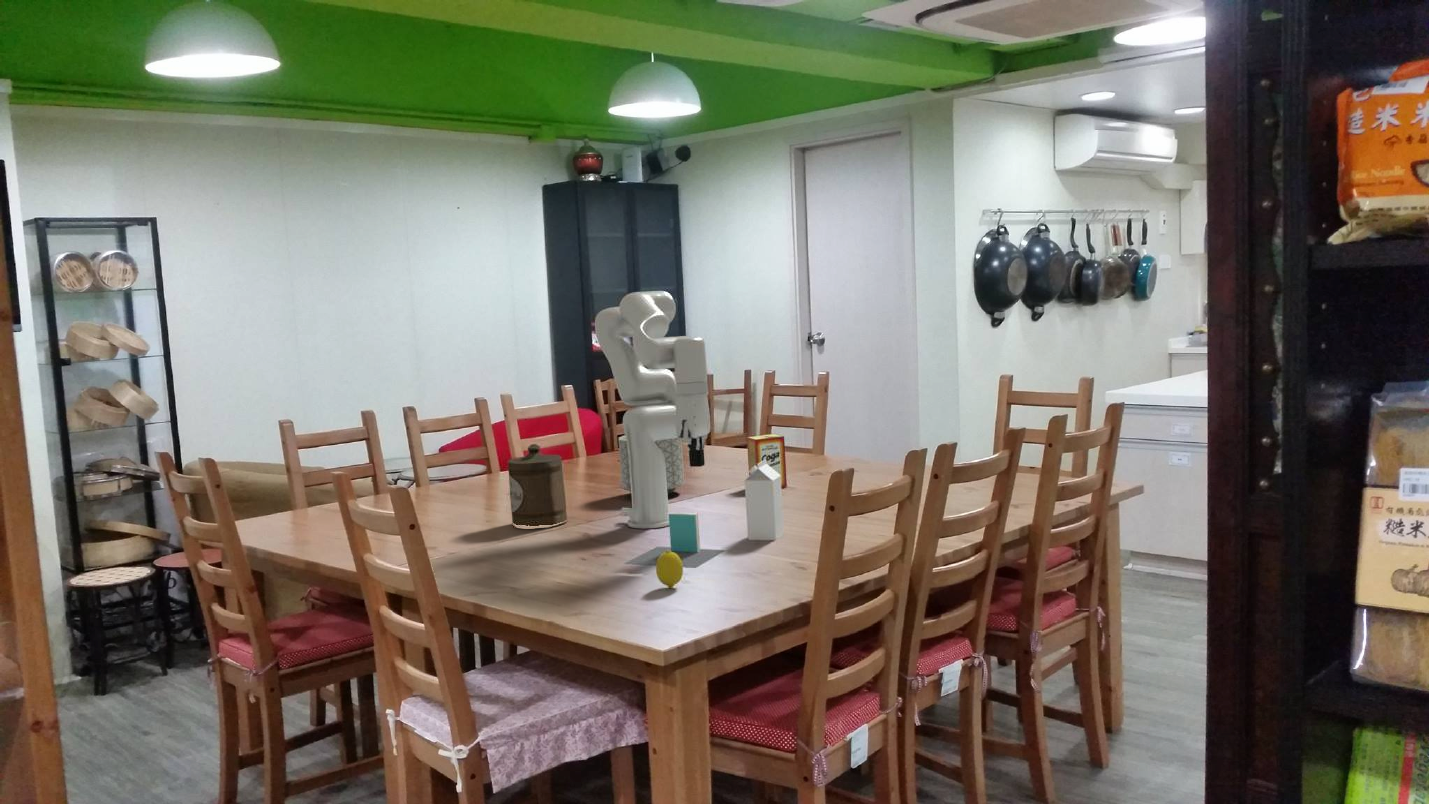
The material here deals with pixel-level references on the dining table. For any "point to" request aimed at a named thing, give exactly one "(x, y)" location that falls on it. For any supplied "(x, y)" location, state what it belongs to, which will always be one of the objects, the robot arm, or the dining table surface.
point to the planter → (672, 462)
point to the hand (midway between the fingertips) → (697, 465)
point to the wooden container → (537, 489)
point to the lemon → (669, 568)
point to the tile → (684, 532)
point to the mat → (686, 557)
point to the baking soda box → (768, 453)
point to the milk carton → (764, 503)
